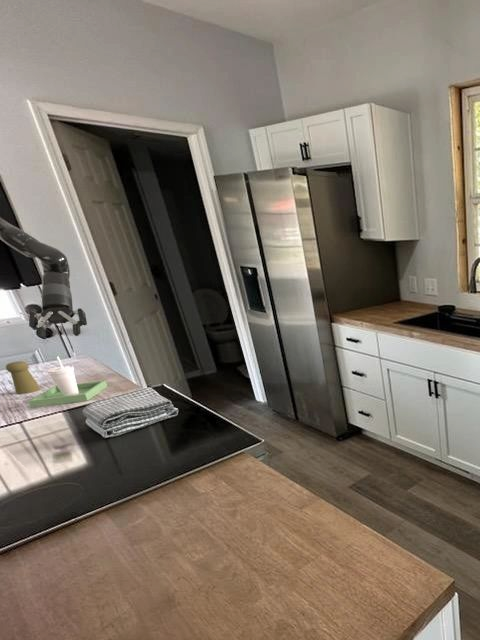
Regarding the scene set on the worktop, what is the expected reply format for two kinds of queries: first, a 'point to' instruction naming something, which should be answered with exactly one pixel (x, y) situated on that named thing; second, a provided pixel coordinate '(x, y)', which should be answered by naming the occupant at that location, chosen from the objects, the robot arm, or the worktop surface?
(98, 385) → the tray
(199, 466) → the worktop surface
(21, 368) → the cork
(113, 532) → the worktop surface
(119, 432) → the towel
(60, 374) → the smoothie
